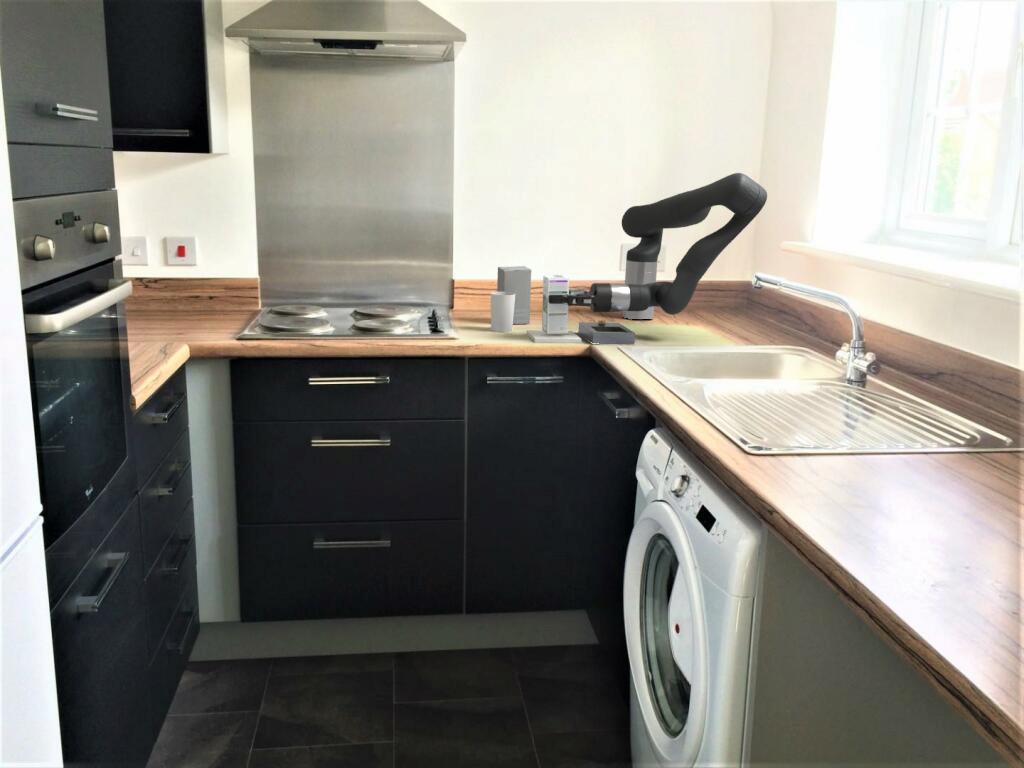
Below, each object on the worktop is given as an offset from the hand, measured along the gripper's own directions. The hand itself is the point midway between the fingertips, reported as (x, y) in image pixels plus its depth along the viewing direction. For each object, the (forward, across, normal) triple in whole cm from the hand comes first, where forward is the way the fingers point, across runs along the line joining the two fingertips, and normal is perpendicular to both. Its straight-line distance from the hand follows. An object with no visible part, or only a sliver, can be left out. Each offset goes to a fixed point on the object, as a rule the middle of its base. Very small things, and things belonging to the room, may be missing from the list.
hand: (546, 297), depth 241 cm
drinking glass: (+10, -11, +11) cm, 18 cm away
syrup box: (-2, 0, +9) cm, 10 cm away
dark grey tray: (-16, 0, +11) cm, 20 cm away
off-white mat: (-2, 0, +11) cm, 11 cm away
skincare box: (+5, -23, +11) cm, 26 cm away
